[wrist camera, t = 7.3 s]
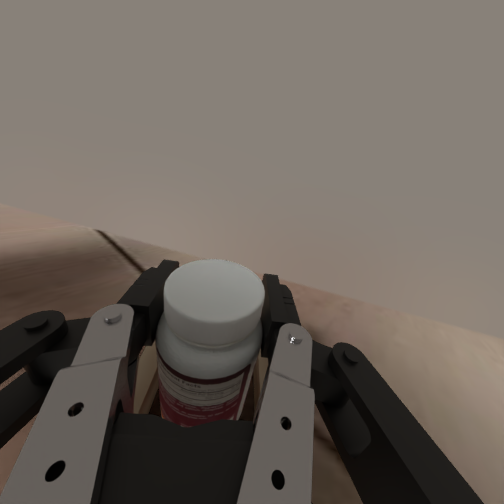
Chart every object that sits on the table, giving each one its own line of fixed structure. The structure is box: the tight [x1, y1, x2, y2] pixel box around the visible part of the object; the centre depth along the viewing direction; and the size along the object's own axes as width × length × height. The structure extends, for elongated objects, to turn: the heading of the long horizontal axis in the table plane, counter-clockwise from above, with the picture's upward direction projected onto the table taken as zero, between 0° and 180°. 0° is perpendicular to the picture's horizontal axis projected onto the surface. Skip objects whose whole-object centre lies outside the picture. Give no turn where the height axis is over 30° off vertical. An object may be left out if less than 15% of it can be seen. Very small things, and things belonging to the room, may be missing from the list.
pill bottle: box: [155, 259, 265, 427], centre depth 10 cm, size 5×5×8 cm
